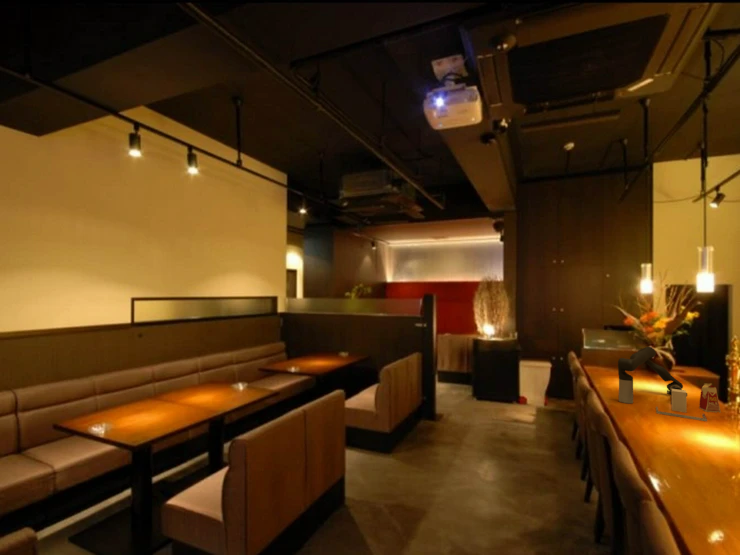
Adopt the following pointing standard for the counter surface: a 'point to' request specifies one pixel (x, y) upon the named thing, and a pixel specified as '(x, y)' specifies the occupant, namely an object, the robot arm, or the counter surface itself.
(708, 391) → the milk carton
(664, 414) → the metal staple
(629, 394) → the robot arm
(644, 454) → the counter surface
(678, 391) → the carton
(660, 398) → the counter surface
